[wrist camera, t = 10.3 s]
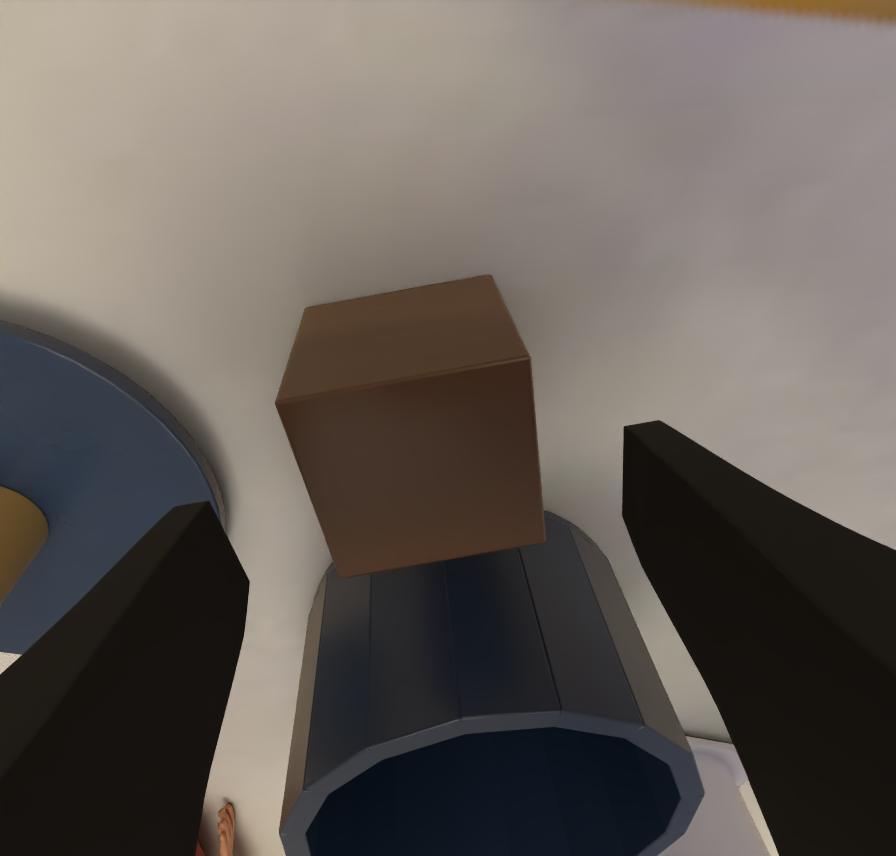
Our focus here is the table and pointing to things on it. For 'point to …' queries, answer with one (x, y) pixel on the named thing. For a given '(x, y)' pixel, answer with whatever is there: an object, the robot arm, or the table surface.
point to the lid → (78, 477)
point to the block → (415, 426)
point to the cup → (485, 714)
